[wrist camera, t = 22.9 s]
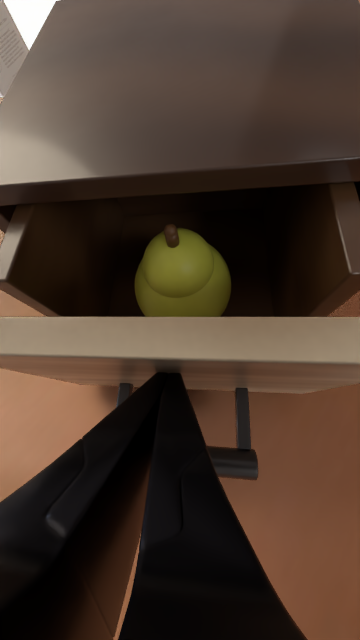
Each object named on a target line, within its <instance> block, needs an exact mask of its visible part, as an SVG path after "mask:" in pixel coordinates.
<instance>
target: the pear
mask: <svg viewBox="0 0 360 640" xmlns="http://www.w3.org/2000/svg"><path fill="white" fill-rule="evenodd" d="M230 294H231V276H230V272H229V269H228V266H227V264H226V262H225V260H224V259H223V257H222V256H221V255H220V253H219V252H218V251H217V250H216V249H215V248H214V247H212V246H211V245H210V244H208V243H207V242H206V241H205V240H204V239H203V238H202V237H201V236H200V235H198V234H197V233H195V232H193V231H191V230H188V229H183V228H176V226H175V225H173V224H168V225H166V226H165V228H164V231H163V232H161V233H160V234H158V235H157V236H155V237H154V238H153V239H152V240H151V242H150V243H149V244H148V246H147V248H146V250H145V253H144V256H143V259H142V260H141V262H140V264H139V266H138V269H137V272H136V276H135V295H136V299H137V302H138V305H139V307H140V309H141V311H142V312H143V314H144V315H145V316H146V317H220V316H221V315H222V313H223V312H224V311H225V309H226V307H227V304H228V302H229V299H230Z"/></svg>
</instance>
